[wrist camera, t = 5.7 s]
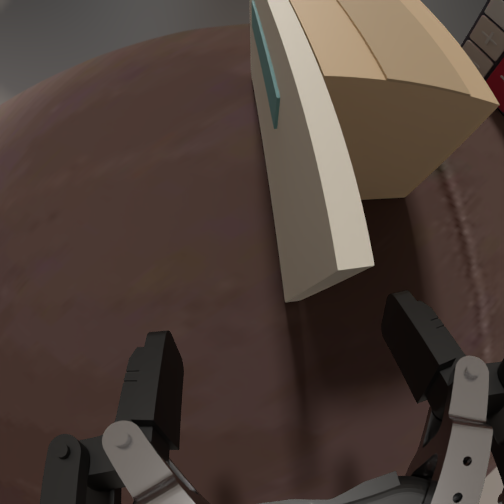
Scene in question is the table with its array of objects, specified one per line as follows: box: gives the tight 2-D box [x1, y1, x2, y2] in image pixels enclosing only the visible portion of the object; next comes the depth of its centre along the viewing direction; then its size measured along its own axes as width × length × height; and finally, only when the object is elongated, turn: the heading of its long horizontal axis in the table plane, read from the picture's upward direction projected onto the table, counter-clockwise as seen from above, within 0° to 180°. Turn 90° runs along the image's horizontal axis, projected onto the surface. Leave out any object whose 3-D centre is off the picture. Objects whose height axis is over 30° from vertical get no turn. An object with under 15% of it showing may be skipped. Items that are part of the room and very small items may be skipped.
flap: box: [250, 0, 374, 303], centre depth 16 cm, size 21×1×13 cm, turn 6°
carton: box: [289, 0, 500, 200], centre depth 17 cm, size 14×10×13 cm
